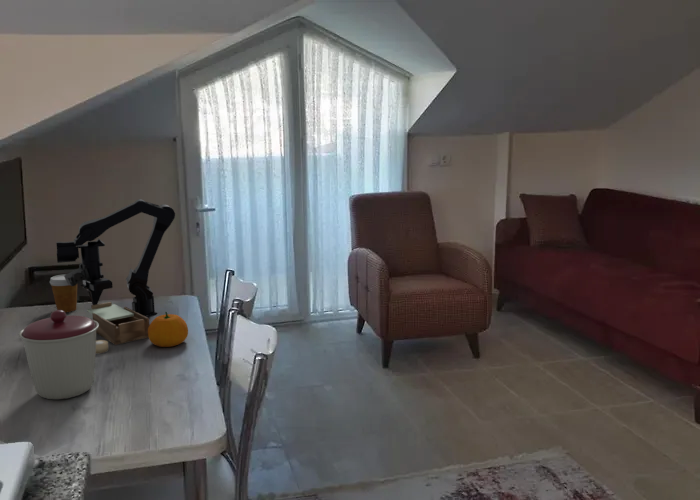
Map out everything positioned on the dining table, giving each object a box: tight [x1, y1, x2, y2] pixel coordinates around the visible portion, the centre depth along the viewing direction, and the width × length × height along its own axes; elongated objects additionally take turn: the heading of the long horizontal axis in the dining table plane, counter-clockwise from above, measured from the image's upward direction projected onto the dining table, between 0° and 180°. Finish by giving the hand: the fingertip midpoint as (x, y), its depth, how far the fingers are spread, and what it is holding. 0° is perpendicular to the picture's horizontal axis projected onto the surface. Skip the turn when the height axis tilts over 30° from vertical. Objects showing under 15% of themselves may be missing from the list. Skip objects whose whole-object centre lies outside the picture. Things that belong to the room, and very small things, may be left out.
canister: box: [18, 309, 99, 400], centre depth 168 cm, size 18×18×21 cm
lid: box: [86, 301, 134, 321], centre depth 219 cm, size 9×15×2 cm, turn 41°
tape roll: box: [96, 339, 109, 355], centre depth 199 cm, size 5×5×2 cm
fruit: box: [148, 311, 189, 348], centre depth 204 cm, size 12×12×10 cm
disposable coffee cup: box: [49, 273, 78, 313], centre depth 240 cm, size 10×10×12 cm
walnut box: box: [91, 306, 150, 346], centre depth 213 cm, size 11×17×6 cm, turn 41°
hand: (94, 305), depth 229 cm, fingers closed
